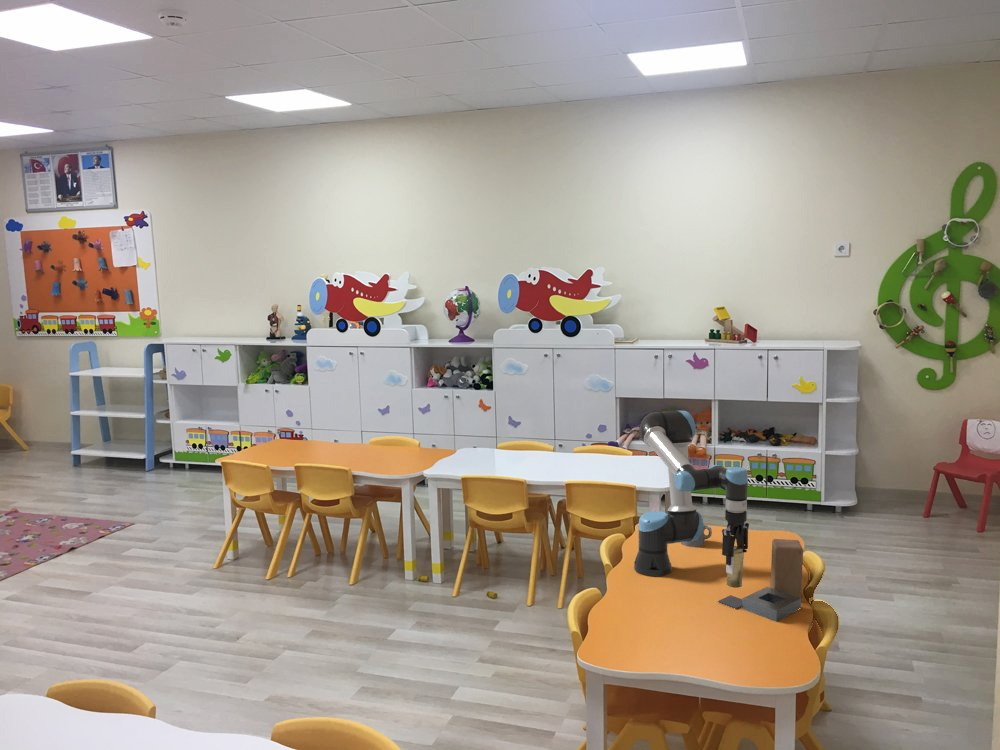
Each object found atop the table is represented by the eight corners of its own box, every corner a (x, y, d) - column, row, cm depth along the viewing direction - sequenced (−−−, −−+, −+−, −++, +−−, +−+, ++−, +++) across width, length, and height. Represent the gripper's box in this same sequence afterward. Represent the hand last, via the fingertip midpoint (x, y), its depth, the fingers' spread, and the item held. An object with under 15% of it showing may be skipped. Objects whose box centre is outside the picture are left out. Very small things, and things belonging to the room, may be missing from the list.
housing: (741, 608, 297) (742, 598, 296) (766, 596, 307) (767, 586, 306) (776, 621, 286) (776, 610, 285) (800, 608, 296) (801, 598, 295)
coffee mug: (678, 545, 362) (679, 523, 361) (682, 538, 371) (683, 517, 370) (709, 548, 357) (710, 527, 356) (712, 541, 366) (713, 520, 365)
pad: (717, 602, 302) (717, 600, 302) (730, 596, 307) (730, 595, 307) (736, 609, 296) (736, 607, 296) (749, 603, 301) (749, 601, 301)
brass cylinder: (723, 584, 301) (724, 548, 299) (732, 580, 304) (733, 544, 302) (736, 588, 297) (737, 552, 295) (744, 584, 300) (745, 548, 298)
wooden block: (801, 599, 304) (803, 548, 301) (773, 598, 306) (775, 547, 303) (797, 589, 313) (799, 539, 310) (770, 587, 315) (771, 537, 312)
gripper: (729, 517, 288) (728, 580, 291) (759, 507, 300) (757, 567, 303) (712, 512, 294) (710, 574, 297) (741, 502, 305) (740, 561, 308)
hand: (734, 570), depth 300 cm, fingers closed on brass cylinder, 5 cm apart
